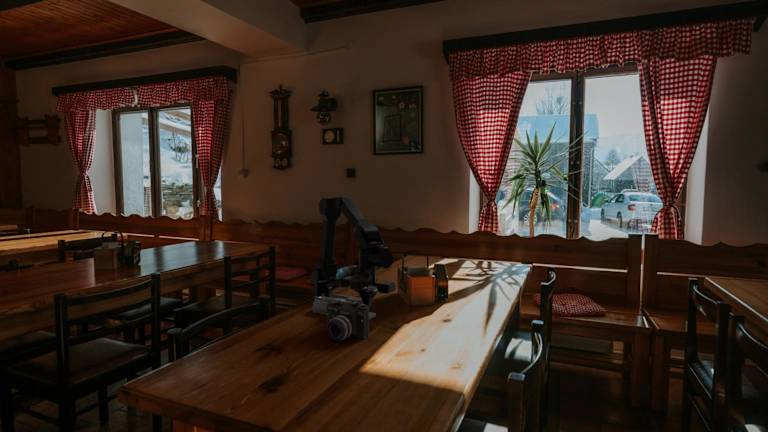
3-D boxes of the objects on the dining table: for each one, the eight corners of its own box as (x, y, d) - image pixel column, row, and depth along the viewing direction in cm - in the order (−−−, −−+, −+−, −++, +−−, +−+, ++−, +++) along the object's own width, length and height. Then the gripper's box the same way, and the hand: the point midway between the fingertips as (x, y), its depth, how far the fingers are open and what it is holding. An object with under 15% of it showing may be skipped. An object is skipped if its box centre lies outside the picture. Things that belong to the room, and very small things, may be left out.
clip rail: (348, 316, 153) (348, 313, 153) (355, 312, 158) (356, 309, 158) (368, 320, 150) (368, 317, 149) (376, 316, 154) (376, 313, 154)
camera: (311, 338, 132) (311, 304, 131) (332, 327, 142) (333, 296, 141) (352, 347, 125) (352, 312, 125) (372, 335, 135) (372, 303, 134)
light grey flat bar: (319, 299, 160) (319, 297, 160) (323, 297, 162) (323, 296, 162) (351, 304, 154) (351, 302, 154) (355, 302, 156) (355, 300, 156)
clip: (344, 312, 154) (344, 299, 154) (351, 309, 158) (351, 296, 158) (358, 314, 152) (358, 301, 152) (364, 311, 155) (364, 298, 155)
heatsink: (310, 311, 158) (310, 297, 157) (327, 305, 166) (327, 291, 166) (346, 318, 151) (347, 304, 150) (362, 311, 159) (362, 297, 159)
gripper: (330, 265, 148) (330, 311, 150) (380, 271, 140) (380, 320, 141) (348, 260, 158) (348, 303, 160) (396, 265, 150) (395, 311, 151)
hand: (367, 309), depth 153 cm, fingers closed
